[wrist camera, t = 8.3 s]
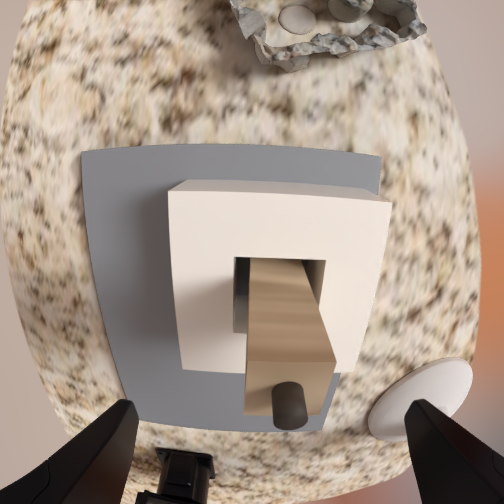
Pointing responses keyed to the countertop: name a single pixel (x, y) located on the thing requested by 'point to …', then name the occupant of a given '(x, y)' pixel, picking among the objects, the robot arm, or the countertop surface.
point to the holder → (271, 246)
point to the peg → (285, 345)
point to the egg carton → (303, 21)
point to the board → (160, 270)
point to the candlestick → (420, 396)
